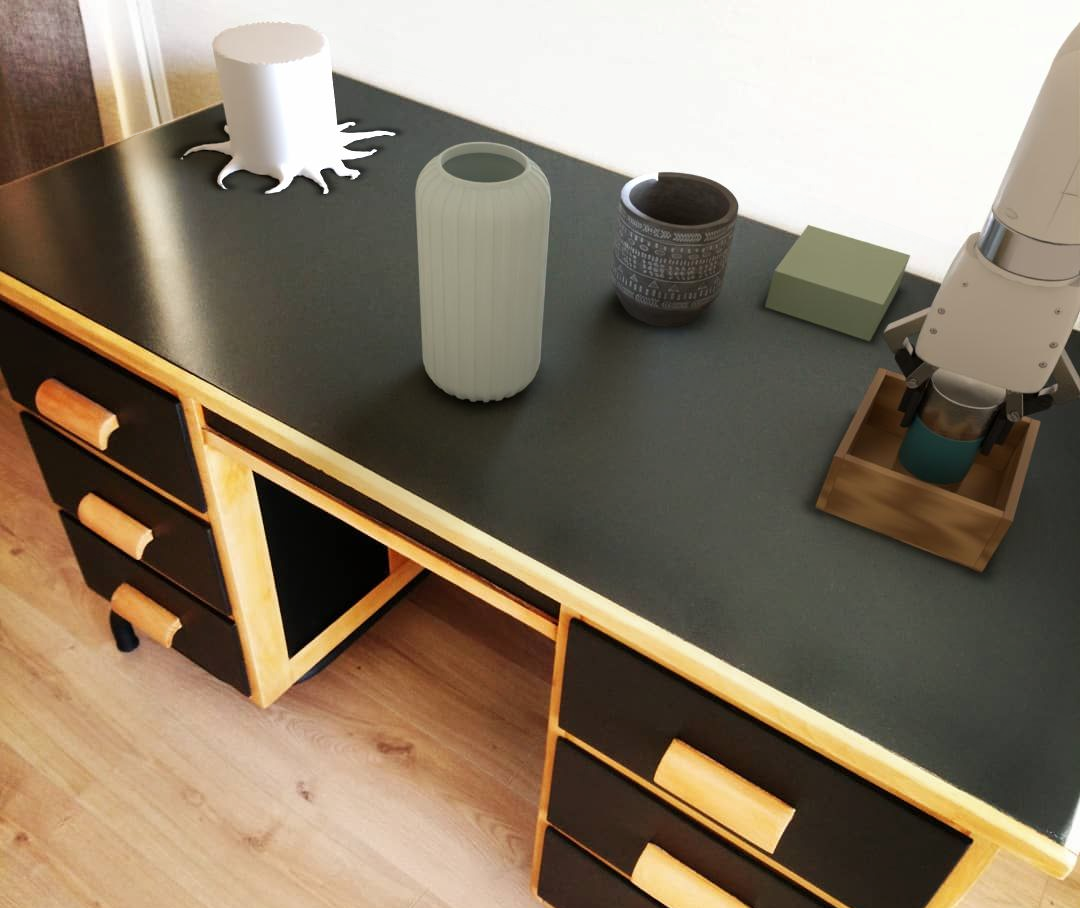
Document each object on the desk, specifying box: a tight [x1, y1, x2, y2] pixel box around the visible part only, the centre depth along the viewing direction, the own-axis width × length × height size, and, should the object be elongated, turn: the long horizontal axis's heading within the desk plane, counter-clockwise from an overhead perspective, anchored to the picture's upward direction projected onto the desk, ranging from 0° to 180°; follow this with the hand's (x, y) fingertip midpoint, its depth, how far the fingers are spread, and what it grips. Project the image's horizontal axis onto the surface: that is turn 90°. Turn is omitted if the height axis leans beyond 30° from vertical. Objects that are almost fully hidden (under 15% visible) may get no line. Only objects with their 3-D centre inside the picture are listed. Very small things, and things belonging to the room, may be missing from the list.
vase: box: [414, 141, 552, 403], centre depth 86 cm, size 12×12×22 cm
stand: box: [764, 224, 911, 342], centre depth 105 cm, size 12×12×5 cm
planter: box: [609, 171, 740, 328], centre depth 100 cm, size 12×12×13 cm
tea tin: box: [891, 368, 1006, 494], centre depth 81 cm, size 6×6×11 cm
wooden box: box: [814, 367, 1041, 573], centre depth 83 cm, size 15×15×7 cm
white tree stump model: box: [180, 21, 396, 195], centre depth 120 cm, size 25×25×14 cm
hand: (946, 430), depth 80 cm, fingers closed on tea tin, 6 cm apart
